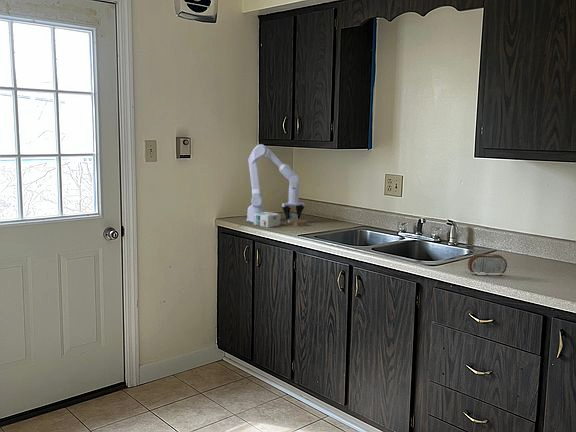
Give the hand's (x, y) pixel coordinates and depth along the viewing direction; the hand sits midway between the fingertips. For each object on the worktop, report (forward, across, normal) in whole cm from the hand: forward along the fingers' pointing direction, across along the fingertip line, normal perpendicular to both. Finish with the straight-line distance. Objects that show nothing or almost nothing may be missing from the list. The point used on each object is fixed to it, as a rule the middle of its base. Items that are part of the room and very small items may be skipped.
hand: (292, 218), depth 346 cm
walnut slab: (+3, -2, -8) cm, 9 cm away
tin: (+3, -2, -134) cm, 134 cm away
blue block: (+2, 0, 0) cm, 2 cm away
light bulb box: (-1, -17, -7) cm, 19 cm away
